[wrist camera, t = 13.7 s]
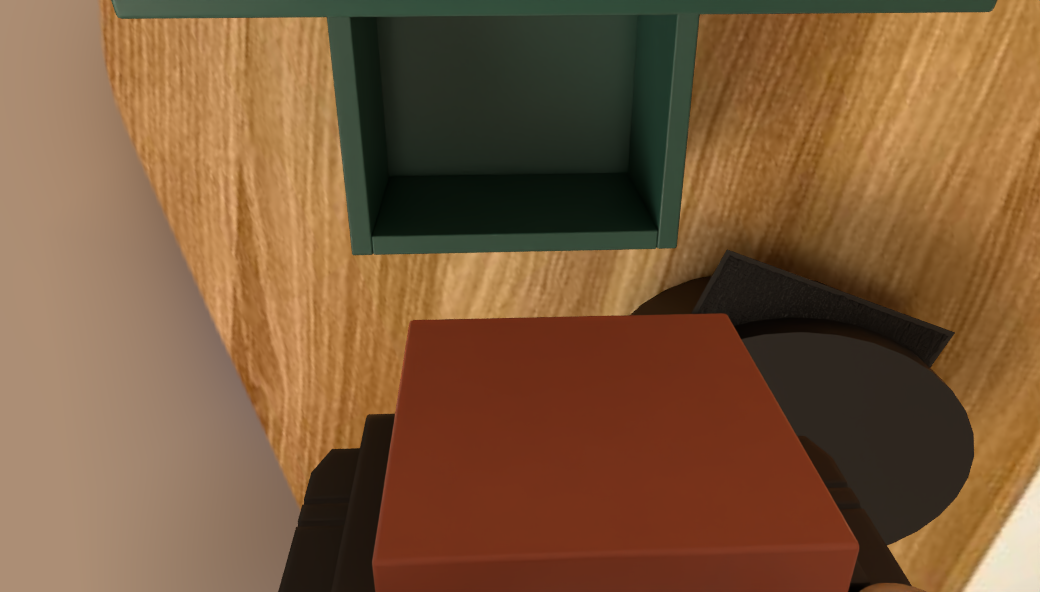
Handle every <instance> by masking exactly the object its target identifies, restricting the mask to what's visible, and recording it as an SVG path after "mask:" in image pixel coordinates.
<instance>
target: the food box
mask: <svg viewBox="0 0 1040 592" xmlns="http://www.w3.org/2000/svg"><path fill="white" fill-rule="evenodd" d="M699 16H700V14H669V15H538V16H406V17H327V23H328V32H329V42H330V51H331V60H332V70H333V79H334V88H335V98H336V107H337V116H338V126H339V135H340V144H341V154H342V163H343V172H344V182H345V191H346V201H347V210H348V219H349V229H350V238H351V247H352V254H353V255H372V254H373V253H374V254H375V255H381V254H429V253H477V252H525V251H573V250H622V249H656V247H657V248H659V249H661V248H676V247H677V239H678V229H679V219H680V209H681V199H682V188H683V178H684V168H685V158H686V148H687V138H688V128H689V118H690V107H691V97H692V87H693V77H694V67H695V57H696V47H697V37H698V27H699Z"/></svg>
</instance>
